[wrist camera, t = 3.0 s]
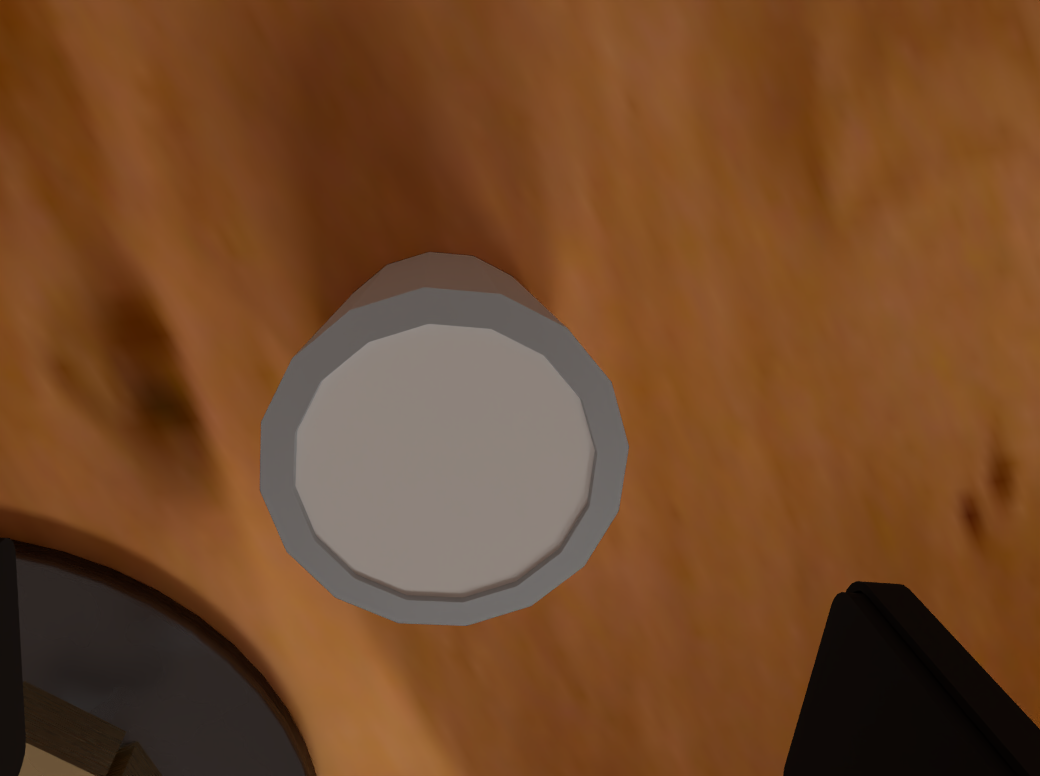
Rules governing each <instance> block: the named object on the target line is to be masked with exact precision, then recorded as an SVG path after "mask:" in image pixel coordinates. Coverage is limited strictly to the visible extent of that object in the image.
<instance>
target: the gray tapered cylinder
mask: <svg viewBox="0 0 1040 776" xmlns="http://www.w3.org/2000/svg"><path fill="white" fill-rule="evenodd" d="M628 449H629V445H628V441H627V438H626V434H625V430H624V427H623V423H622V419H621V416H620V412H619V408H618V405H617V401H616V397H615V393H614V390H613V386H612V382H611V381H610V380H609V379H608V377H607V376H606V375H605V374H604V373H603V371H602V370H601V369H600V368H599V366H598V365H597V364H596V363H595V362H594V360H593V359H592V358H591V357H590V355H589V354H588V353H587V352H586V351H585V349H584V348H583V347H582V346H581V344H580V343H579V342H578V341H577V340H576V338H575V337H574V336H573V335H572V333H571V332H570V331H569V330H568V329H567V328H566V327H565V326H564V325H563V324H562V323H561V322H560V321H559V320H558V319H557V318H556V317H555V316H554V315H553V314H552V313H551V312H549V311H548V310H547V309H546V308H545V307H544V306H543V305H542V304H541V303H540V302H539V301H538V300H537V299H536V298H535V297H534V296H533V295H531V294H530V293H529V292H528V291H527V290H526V289H525V288H524V287H523V286H522V285H521V284H520V283H519V282H518V281H517V280H516V279H514V278H513V277H512V276H511V275H509V274H507V273H505V272H503V271H501V270H499V269H497V268H495V267H494V266H492V265H490V264H488V263H486V262H484V261H482V260H480V259H478V258H476V257H474V256H469V255H458V254H447V253H436V252H427V253H424V254H421V255H417V256H414V257H411V258H408V259H404V260H401V261H398V262H395V263H391V264H388V265H386V266H385V267H384V268H383V269H381V270H380V271H379V272H378V273H377V274H375V275H374V276H373V277H372V278H371V279H369V280H368V281H367V282H366V283H365V284H363V285H362V286H361V287H360V288H359V289H357V290H356V291H355V292H354V293H353V294H352V295H351V296H350V297H349V298H348V299H347V300H346V301H345V302H344V304H343V305H342V306H341V307H340V308H339V309H338V310H337V311H336V312H335V313H334V314H333V315H332V316H331V317H330V319H329V320H328V321H327V322H326V323H325V324H324V325H323V326H322V327H321V328H320V329H319V330H318V331H317V332H316V333H315V335H314V336H313V337H312V338H311V339H310V340H309V341H308V342H307V343H306V344H305V345H304V346H303V347H302V348H301V350H300V351H299V352H298V353H297V354H296V355H295V356H294V357H293V358H292V360H291V362H290V364H289V366H288V368H287V370H286V372H285V374H284V376H283V378H282V380H281V383H280V385H279V387H278V389H277V391H276V393H275V395H274V397H273V399H272V401H271V403H270V405H269V407H268V409H267V411H266V413H265V415H264V417H263V419H262V421H261V454H260V492H261V494H262V496H263V499H264V501H265V503H266V506H267V508H268V510H269V512H270V515H271V517H272V519H273V522H274V524H275V526H276V528H277V531H278V533H279V535H280V538H281V540H282V542H283V545H284V547H285V549H286V551H287V552H288V553H289V554H290V555H291V556H292V557H293V558H294V559H295V560H296V561H297V562H298V563H299V564H300V565H301V566H302V567H303V568H305V569H306V570H307V571H308V572H309V573H310V574H311V575H312V576H313V577H314V578H315V579H316V580H317V581H318V582H319V583H320V584H322V585H323V586H324V587H325V588H326V589H327V590H328V591H329V592H330V593H331V594H332V595H333V596H334V597H335V598H338V599H340V600H343V601H345V602H348V603H350V604H352V605H355V606H357V607H360V608H362V609H365V610H367V611H370V612H372V613H375V614H377V615H380V616H382V617H385V618H387V619H389V620H392V621H394V622H397V623H408V624H433V625H458V626H467V625H471V624H474V623H477V622H481V621H484V620H487V619H490V618H494V617H497V616H500V615H503V614H507V613H510V612H513V611H516V610H520V609H523V608H526V607H530V606H532V605H533V604H534V603H536V602H537V601H538V600H540V599H541V598H542V597H544V596H545V595H546V594H548V593H549V592H550V591H552V590H553V589H554V588H556V587H557V586H558V585H560V584H561V583H562V582H564V581H565V580H566V579H568V578H569V577H570V576H572V575H573V574H574V573H576V572H577V571H578V570H580V569H581V568H582V567H584V566H585V564H586V562H587V561H588V559H589V558H590V556H591V554H592V553H593V551H594V550H595V548H596V546H597V545H598V543H599V542H600V540H601V538H602V537H603V535H604V534H605V532H606V530H607V529H608V527H609V526H610V524H611V522H612V521H613V519H614V518H615V516H616V514H617V513H618V511H619V506H620V499H621V493H622V487H623V480H624V474H625V468H626V462H627V455H628Z"/></svg>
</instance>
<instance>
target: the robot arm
mask: <svg viewBox="0 0 1040 776" xmlns="http://www.w3.org/2000/svg"><path fill="white" fill-rule="evenodd" d="M25 748H26V733H25V715H24V696H23V678H22V660H21V641H20V623H19V605H18V586H17V568H16V552H15V546H14V543H13V541H12V540H11V539H10V538H0V776H18V775H19V773H20V770H21V767H22V764H23V760H24V755H25ZM783 776H1040V729H1039V728H1038V727H1037V726H1036V725H1035V724H1034V723H1033V722H1032V720H1031V719H1030V718H1029V717H1028V716H1027V715H1026V714H1025V713H1024V712H1023V711H1022V710H1021V709H1020V708H1019V706H1018V705H1017V704H1016V703H1015V702H1014V701H1013V700H1012V699H1011V698H1010V697H1009V696H1008V695H1007V694H1006V693H1005V691H1004V690H1003V689H1002V688H1001V687H1000V686H999V685H998V684H997V683H996V682H995V681H994V680H993V679H992V677H991V676H990V675H989V674H988V673H987V672H986V671H985V670H984V669H983V668H982V667H981V666H980V665H979V664H978V662H977V661H976V660H975V659H974V658H973V657H972V656H971V655H970V654H969V653H968V652H967V651H966V650H965V648H964V647H963V646H962V645H961V644H960V643H959V642H958V641H957V640H956V639H955V638H954V637H953V636H952V635H951V633H950V632H949V631H948V630H947V629H946V628H945V627H944V626H943V625H942V624H941V623H940V622H939V621H938V620H937V618H936V617H935V616H934V615H933V614H932V613H931V612H930V611H929V610H928V609H927V608H926V607H925V606H924V604H923V603H922V602H921V601H920V600H919V599H918V598H917V597H916V596H915V595H914V594H913V593H912V592H911V591H910V589H908V588H907V587H906V586H904V585H900V584H890V583H875V582H860V581H857V582H854V583H852V584H851V585H850V586H849V587H848V589H847V590H846V592H841V593H839V594H837V595H836V597H835V598H834V600H833V602H832V605H831V608H830V612H829V615H828V619H827V622H826V626H825V629H824V633H823V636H822V639H821V643H820V646H819V650H818V653H817V657H816V660H815V664H814V667H813V670H812V674H811V677H810V681H809V684H808V688H807V691H806V695H805V698H804V702H803V705H802V708H801V712H800V715H799V719H798V722H797V726H796V729H795V733H794V736H793V739H792V743H791V746H790V750H789V753H788V757H787V760H786V764H785V768H784V774H783Z"/></svg>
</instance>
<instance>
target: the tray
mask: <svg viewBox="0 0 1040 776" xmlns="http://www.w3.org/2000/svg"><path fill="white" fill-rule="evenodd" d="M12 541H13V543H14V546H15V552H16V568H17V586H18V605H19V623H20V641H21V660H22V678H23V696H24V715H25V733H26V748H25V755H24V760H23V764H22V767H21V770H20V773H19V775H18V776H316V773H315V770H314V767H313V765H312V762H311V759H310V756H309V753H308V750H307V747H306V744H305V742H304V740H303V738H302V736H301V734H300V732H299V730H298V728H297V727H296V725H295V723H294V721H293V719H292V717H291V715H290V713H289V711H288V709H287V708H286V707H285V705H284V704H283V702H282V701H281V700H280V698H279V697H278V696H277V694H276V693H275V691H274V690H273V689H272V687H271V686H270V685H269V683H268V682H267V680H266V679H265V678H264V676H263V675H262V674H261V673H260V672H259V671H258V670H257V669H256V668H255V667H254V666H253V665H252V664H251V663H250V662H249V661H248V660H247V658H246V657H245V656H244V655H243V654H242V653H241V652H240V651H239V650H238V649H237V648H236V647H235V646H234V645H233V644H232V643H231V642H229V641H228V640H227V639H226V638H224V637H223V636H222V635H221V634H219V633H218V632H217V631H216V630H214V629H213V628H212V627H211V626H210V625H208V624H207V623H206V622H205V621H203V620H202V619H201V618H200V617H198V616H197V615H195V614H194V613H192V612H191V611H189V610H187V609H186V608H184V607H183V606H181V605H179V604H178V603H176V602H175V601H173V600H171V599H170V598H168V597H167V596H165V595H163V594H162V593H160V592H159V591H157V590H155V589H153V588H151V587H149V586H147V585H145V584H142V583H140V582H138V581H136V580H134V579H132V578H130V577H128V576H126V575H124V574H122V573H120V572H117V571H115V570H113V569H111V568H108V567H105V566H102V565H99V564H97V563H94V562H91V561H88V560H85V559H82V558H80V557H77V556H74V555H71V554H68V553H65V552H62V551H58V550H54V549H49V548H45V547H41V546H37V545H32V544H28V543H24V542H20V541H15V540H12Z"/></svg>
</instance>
